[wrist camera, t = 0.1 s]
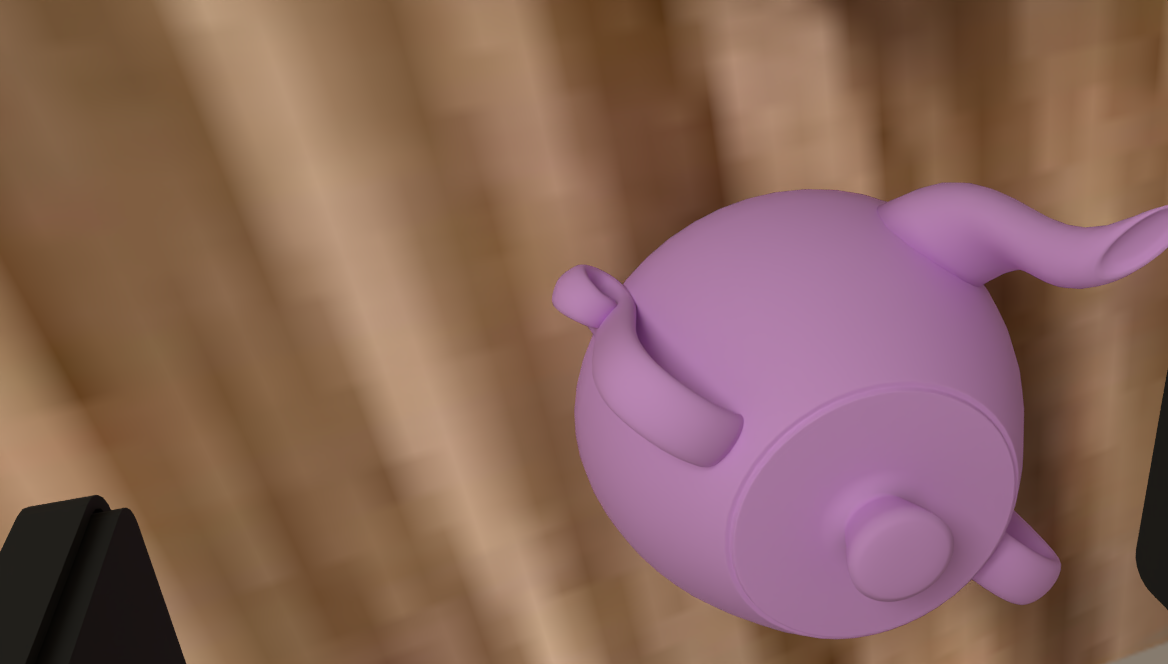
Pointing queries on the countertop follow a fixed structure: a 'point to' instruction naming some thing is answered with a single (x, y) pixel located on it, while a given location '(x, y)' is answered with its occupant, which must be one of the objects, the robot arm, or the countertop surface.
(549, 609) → the countertop surface
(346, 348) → the countertop surface
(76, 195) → the countertop surface
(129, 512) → the robot arm
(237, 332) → the countertop surface
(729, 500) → the teapot
